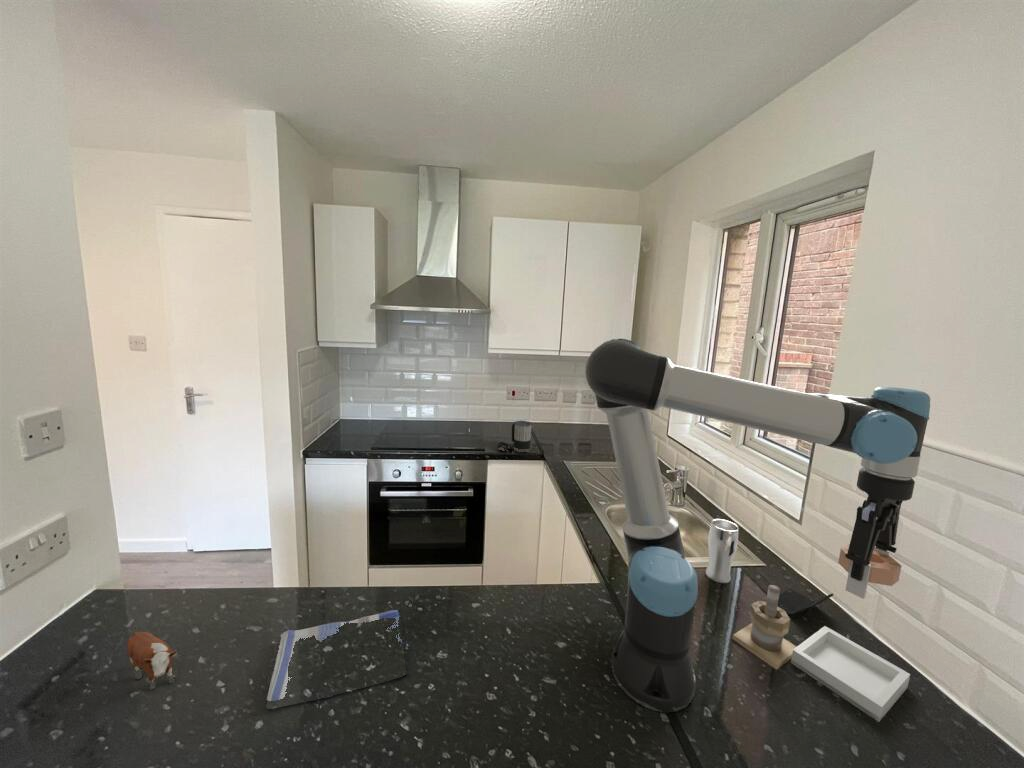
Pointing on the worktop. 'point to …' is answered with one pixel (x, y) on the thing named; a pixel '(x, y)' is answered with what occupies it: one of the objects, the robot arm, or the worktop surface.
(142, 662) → the bull figurine
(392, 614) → the dish towel
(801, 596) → the handheld gaming console
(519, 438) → the milk frother
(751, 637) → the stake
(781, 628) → the oak ring
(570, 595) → the worktop surface
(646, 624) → the robot arm
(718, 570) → the silver metal tumbler
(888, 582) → the terracotta ring
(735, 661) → the worktop surface
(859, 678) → the tray
